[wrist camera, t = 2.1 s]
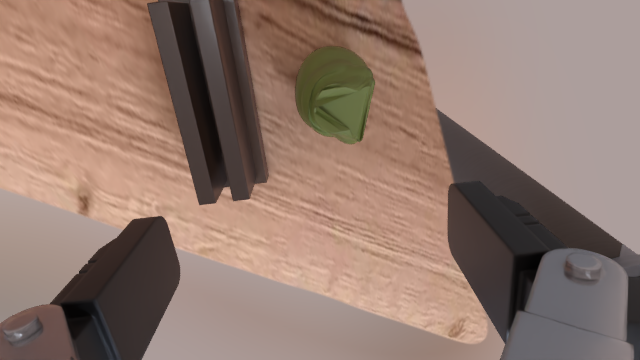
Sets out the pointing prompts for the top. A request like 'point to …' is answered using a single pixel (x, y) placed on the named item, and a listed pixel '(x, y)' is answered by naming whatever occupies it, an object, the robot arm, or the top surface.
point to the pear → (335, 93)
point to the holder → (211, 94)
